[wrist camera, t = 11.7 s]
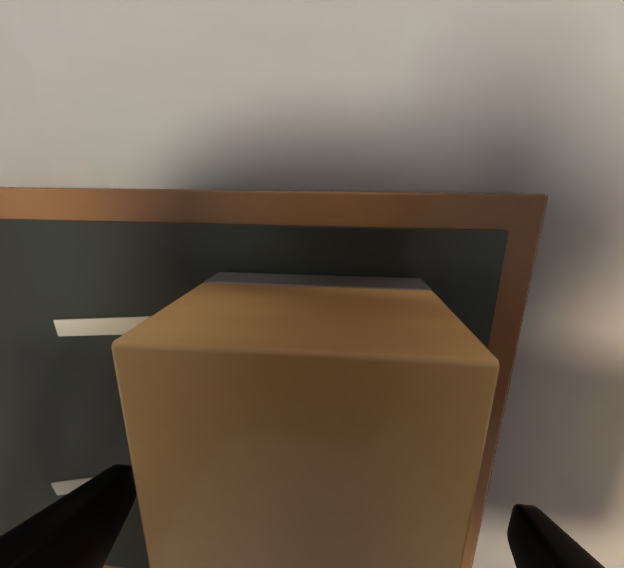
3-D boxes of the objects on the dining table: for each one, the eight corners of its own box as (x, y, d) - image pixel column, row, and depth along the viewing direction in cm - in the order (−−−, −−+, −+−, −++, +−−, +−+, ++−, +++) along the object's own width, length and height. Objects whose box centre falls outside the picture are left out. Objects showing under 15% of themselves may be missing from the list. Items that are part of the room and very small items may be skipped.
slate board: (-36, 531, 14) (-67, 558, 13) (-167, 185, 10) (-226, 185, 9) (454, 594, 12) (464, 632, 11) (530, 193, 8) (557, 194, 7)
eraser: (238, 560, 11) (182, 764, 7) (218, 271, 8) (107, 341, 4) (389, 576, 10) (418, 800, 7) (421, 277, 8) (503, 361, 4)
